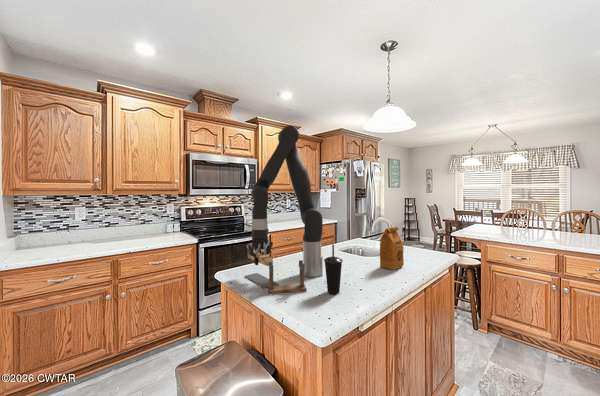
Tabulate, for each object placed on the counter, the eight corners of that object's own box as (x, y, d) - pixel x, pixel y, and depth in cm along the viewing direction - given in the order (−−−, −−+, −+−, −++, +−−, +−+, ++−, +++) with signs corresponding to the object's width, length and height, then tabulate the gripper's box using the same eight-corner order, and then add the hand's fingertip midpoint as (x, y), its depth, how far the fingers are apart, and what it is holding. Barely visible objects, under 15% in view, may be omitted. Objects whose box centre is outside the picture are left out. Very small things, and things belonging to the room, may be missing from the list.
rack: (304, 287, 111) (304, 260, 111) (306, 292, 105) (306, 263, 105) (267, 289, 109) (267, 262, 108) (268, 295, 103) (267, 265, 103)
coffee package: (406, 267, 137) (406, 227, 137) (393, 271, 130) (392, 229, 130) (391, 263, 146) (390, 225, 145) (377, 267, 138) (377, 227, 138)
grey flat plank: (244, 276, 126) (244, 275, 126) (256, 273, 130) (256, 272, 130) (265, 288, 110) (265, 287, 110) (278, 284, 115) (278, 283, 115)
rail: (272, 264, 114) (272, 258, 114) (267, 266, 112) (267, 259, 112) (253, 256, 128) (253, 251, 128) (248, 257, 126) (248, 251, 126)
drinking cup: (338, 297, 100) (337, 247, 99) (321, 293, 104) (320, 245, 103) (345, 291, 106) (345, 243, 106) (329, 287, 110) (328, 242, 110)
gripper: (250, 230, 112) (250, 268, 113) (276, 227, 121) (276, 263, 121) (242, 228, 118) (242, 265, 118) (268, 225, 127) (268, 260, 127)
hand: (260, 264), depth 120 cm, fingers closed on rail, 3 cm apart
